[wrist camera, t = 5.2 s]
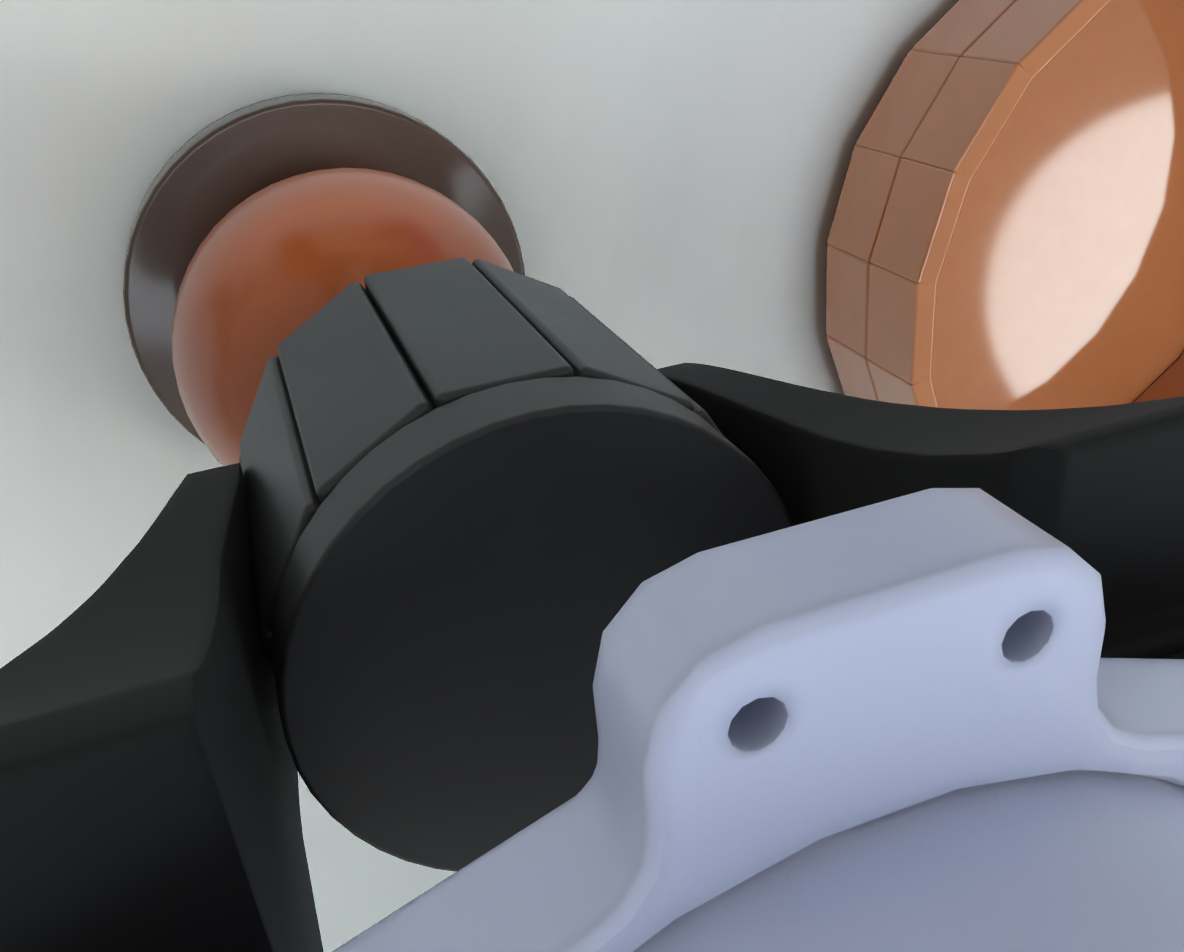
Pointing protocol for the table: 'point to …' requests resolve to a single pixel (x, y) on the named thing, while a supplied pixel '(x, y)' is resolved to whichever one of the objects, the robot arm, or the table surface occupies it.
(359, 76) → the table surface
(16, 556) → the table surface
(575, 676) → the cap
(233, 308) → the sphere on round base
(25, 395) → the table surface
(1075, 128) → the round terracotta dish
